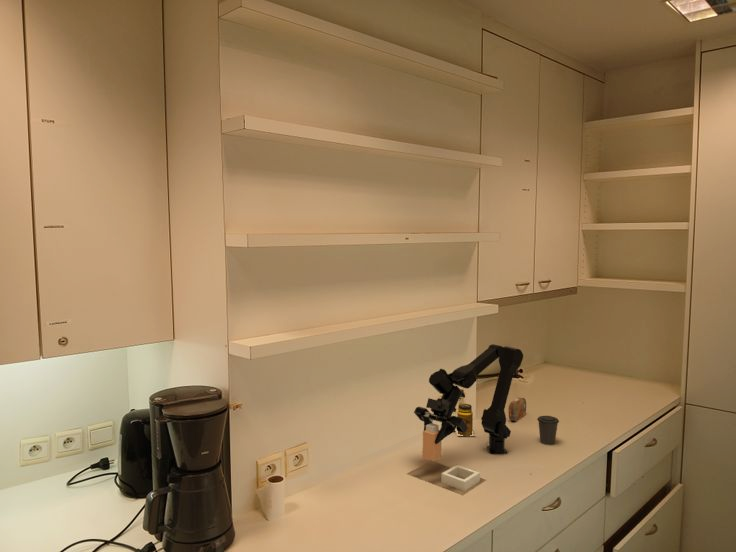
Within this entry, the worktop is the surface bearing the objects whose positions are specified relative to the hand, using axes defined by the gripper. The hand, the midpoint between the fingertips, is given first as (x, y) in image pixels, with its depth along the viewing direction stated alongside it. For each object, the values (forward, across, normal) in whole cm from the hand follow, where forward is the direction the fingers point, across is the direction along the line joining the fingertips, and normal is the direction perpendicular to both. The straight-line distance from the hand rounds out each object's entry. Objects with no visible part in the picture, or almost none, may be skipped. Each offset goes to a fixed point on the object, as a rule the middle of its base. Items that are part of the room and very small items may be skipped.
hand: (429, 441), depth 178 cm
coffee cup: (-30, +16, +48) cm, 59 cm away
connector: (+3, 0, +5) cm, 6 cm away
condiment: (-21, -13, +38) cm, 45 cm away
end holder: (+7, +11, +9) cm, 16 cm away
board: (+8, +6, +10) cm, 13 cm away
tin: (-43, -6, +60) cm, 74 cm away
